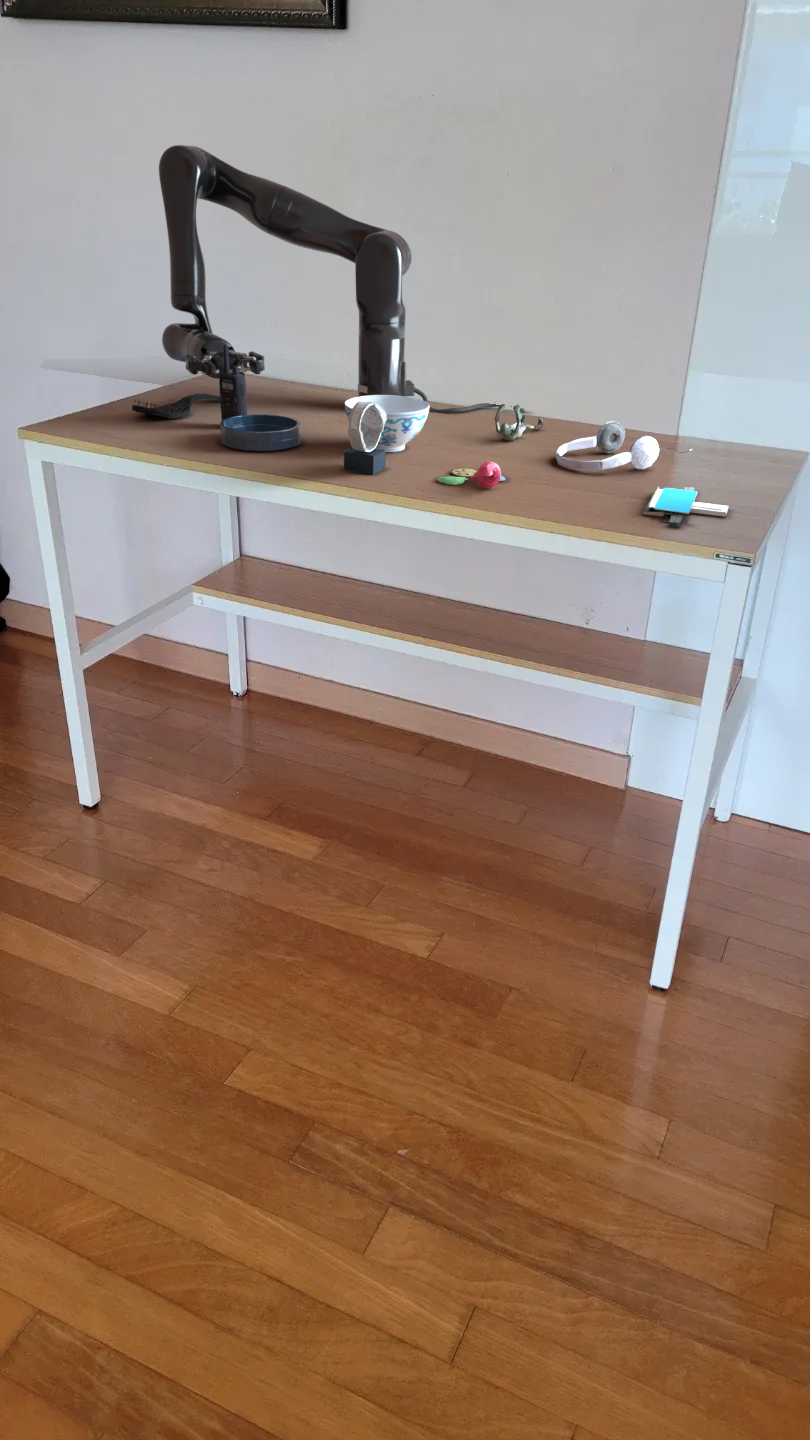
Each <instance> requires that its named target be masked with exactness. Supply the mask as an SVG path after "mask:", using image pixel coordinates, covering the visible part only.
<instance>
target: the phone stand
mask: <svg viewBox="0 0 810 1440" xmlns="http://www.w3.org/2000/svg"><path fill="white" fill-rule="evenodd" d="M697 494H698V491H696V490H695V487H692V486H691V487H690V486H684V487H683V489H681V488H672V487H663V489H662V488H660V485H658V487H656V489H655V490H654V491H653V493H652V495H651V497H650V499H649V500H648V501H647V504H646V505H645V508H644V510H643V512H642V515H645V516H651V517H652V516H653V517H661V518H663V521H662V523H666V524H668V527H675V528H680V527H681V525H682V523H683V520H684V518H685V517H686V516H685V515H690V514H691V513H693V514H702V515H709V516H715V517H717V516H718V517H724V518H725V517H726V516H727V514H728V510H729V505H725V504H724V505H723V504H716V503H707V502H700V501H699V502H698V501H695V500H696V497H697ZM687 525H688V526H689V525H690V524H688V523H687Z"/></svg>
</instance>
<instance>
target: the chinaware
mask: <svg viewBox="0 0 810 1440" xmlns="http://www.w3.org/2000/svg"><path fill="white" fill-rule="evenodd" d="M360 401H361V402H367V401H369V402H374V403H376V404H378V405H379V406H380V407H382V408H383V410H384V411H385V413H386V416H387V420H386V422H385V424H384V429H383V432H382V433H381V435H380V439H379V441H378V444H377V446H376V448H375V449H380V450H385V453H396V452H401V451H404V450H405V449H406V444H407V443H410V441H412V440H413V439H414V438H415V437H416V436H417V435H418V434H420V432H421V431H422V429H423V428H424V426H425V423H426V421H427V418H428V416H429V412H430V411H429V407H431V406H430V403H427V402H426V401H423V399H421V398H416V397H413V396H395V395H369V396H360V397H358V396H355V397H351V398H348V399H346V400H345V401H344V410H345V414H346V418H347V420H348V421H349V419H350V414H351V411H352V409H353V407H354V405H355V404H356V403H357V402H360ZM354 425H356V424H354ZM360 430H361V431H362V434H363V439H364V442H365V440H366V438H367V434H368V430H365V427H364V425H363V423H362V422H361V426H360ZM376 438H377V437H376Z"/></svg>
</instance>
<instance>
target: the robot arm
mask: <svg viewBox="0 0 810 1440" xmlns="http://www.w3.org/2000/svg"><path fill="white" fill-rule="evenodd" d="M158 177H159V185H160V191H161V196H162V202H163V209H164V215H165V223H166V231H167V239H168V248H169V249H168V251H169V269H170V270H169V271H170V272H169V273H170V276H169V277H170V279H169V280H170V305H171V307H172V308H173V309H174V310H176V311H179V312H183V313H187V314H190V315H192V316H193V318H194V323H191V322H190V323H185V322H183V323H181V322H174V323H170V324H168V325H167V326H165V328H164V330H163V332H162V336H161V344H162V347H163V350H164V352H165V354H166V355H167V356H168V357H169V358H170V359H172V360H174V361H178V362H181V363H182V362H183V363H185V370H186V371H188V372H189V373H190V374H191V375H193V376H194V375H197V374H198V373H199V372H201V375H204V376H207V377H209V378H212V379H217V380H219V376H220V373H222V372H224V349H223V345H224V344H227V345H228V356H229V371H230V372H232V370H233V366H238V369H239V372H243V373H247V372H250V373H253V374H255V375H261V373H262V372H263V371H265V370H266V367H265V356H264V355H262V354H260V353H258V352H254V351H248V354H247V353H246V352H239V351H236V350H235V348H234V347H233V345H232V344H231V343H230V342H229V341H228V340H226V339H224V338H222V337H220V336H219V335H217V334H214V333H213V328H212V326H211V322H210V317H209V314H208V313H209V312H208V308H207V300H206V299H207V295H206V294H207V291H206V289H207V288H206V284H207V283H206V280H207V279H206V278H207V277H206V275H207V274H206V264H205V259H204V255H203V252H202V247H201V243H200V238H199V234H198V226H197V206H198V205H197V204H198V200H202V201H206V202H210V203H213V204H215V205H216V204H217V205H219V206H221V207H224V208H227V209H229V210H231V211H234V212H235V213H237V214H238V215H240V216H241V217H242V218H244V219H245V220H246V221H248V222H249V223H250V224H251V225H253V226H254V227H255V228H257V229H259V230H261V231H262V232H264V233H265V234H268V235H270V236H272V237H274V238H275V239H276V238H277V239H278V240H281V241H283V242H286V243H288V244H290V245H293V246H297V247H299V248H300V247H301V248H304V249H308V250H312V251H315V252H322V253H326V254H329V255H334V256H338V257H341V258H342V259H345V260H347V261H349V262H351V263H353V264H354V265H355V267H354V269H355V270H354V271H355V272H354V273H355V274H354V275H355V301H356V307H357V311H358V360H357V361H358V363H357V364H358V366H357V367H358V373H357V377H358V378H357V397H360V396H369V395H395V396H405V397H415V394H416V395H418V396H420V397H421V398H422V400H423V401H426V402H427V403H428V401H429V400H428V397H427V395H426V394H425V392H423V391H422V390H420V389H419V388H416V387H415V383H413V382H412V380H409V379H407V363H406V361H405V347H406V345H405V343H406V315H407V314H406V311H407V309H406V306H405V304H404V300H403V276H404V275H406V273H407V272H408V271H409V269H410V267H411V264H412V260H413V259H412V258H413V257H412V251H411V248H410V245H409V244H408V242H407V240H406V239H405V238H404V237H403V236H402V235H401V234H399V233H397V232H396V231H393V230H390V229H389V230H388V229H385V228H382V227H378V226H375V225H372V224H369V223H365V222H362V221H360V220H357V219H355V218H352V217H350V216H347V215H345V214H344V213H342V212H340V211H338V210H336V209H334V208H332V207H331V206H329V205H327V204H324V203H323V202H321V201H318V200H316V199H315V198H312V197H310V196H309V195H306V194H305V193H302V192H300V191H298V190H296V189H293V188H291V187H289V186H287V185H284V184H280V183H277V182H275V181H273V180H270V179H267V178H264V177H261V176H257V175H254V174H251V173H248V172H245V171H243V170H240V169H238V168H237V167H234V166H233V165H231V164H229V163H227V162H225V161H224V160H222V159H220V158H219V157H217V156H215V155H213V154H212V153H210V152H209V151H207V150H205V149H204V148H201V147H198V146H195V145H185V144H178V145H176V144H174V145H171V146H169V147H168V148H166V149H165V150H164V151H163V152H162V154H161V156H160V159H159V163H158ZM489 403H490V402H486V403H485V402H484V403H483V402H482V403H481V402H480V403H476V404H472V405H469V406H464V407H463V406H462V407H451V408H443V409H441V408H440V409H438V408H435V407H432V406H430V407H429V412H432V413H440V414H455V413H465V412H466V413H467V412H470V411H473V410H477V409H486V408H487V409H488V408H498V407H499V406H500V405H496V404H489ZM428 404H429V403H428ZM510 407H512V406H510ZM512 408H513V407H512ZM518 412H521V413H522V414H527V413H528V412H527V410H526V409H525V408H524V407H522V408H520V410H519V411H518ZM521 413H520V414H521Z"/></svg>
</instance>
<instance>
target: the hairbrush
mask: <svg viewBox="0 0 810 1440" xmlns="http://www.w3.org/2000/svg"><path fill="white" fill-rule="evenodd" d="M168 400H169V401H168ZM203 400H213V401H215V400H216V401H220V395H215V394H209V393H203V392H202V393H194V394H189V395H187V396H184V397H181V398H179V397H177V399H172V400H171V398H169V399H166V402H168V403H165V401H161V400H160V401H159V403H157V402H156V403H155V402H151V403H149V401H147V402H146V401H143V402H142V401H141V400H137V399H135V400H134V403H137V404H133V405H131V411H133V412H135V413H138V414H143V415H144V414H145V415H151V416H156V417H161V418H167V419H184V418H186V417H187V416H189V415H190V413H191V409H192V406H193V404H194V402H198V401H203ZM171 401H172V402H171ZM161 402H162V404H161ZM141 404H142V405H141Z"/></svg>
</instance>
